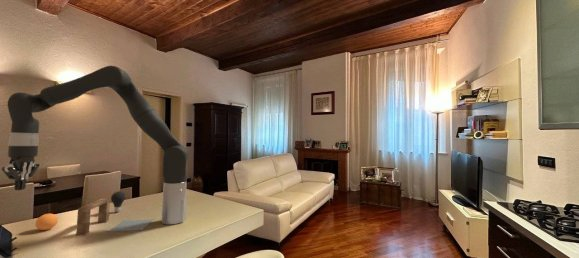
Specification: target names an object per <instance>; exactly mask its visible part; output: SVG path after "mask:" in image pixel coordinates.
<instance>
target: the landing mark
mask: <svg viewBox="0 0 579 258" xmlns="http://www.w3.org/2000/svg"><path fill="white" fill-rule="evenodd" d="M154 220H155V219H153V218H152V219H133V220H132V219H131V220H123V221H121V222H120V223H118V224H116V225H115V226H114V227H112V228H111V229H110V230H108V231H107V232H108V233H112V232H113V233H114V232H115V233H116V232H117V233H118V232H132V231H143V230H145V228H147V226H149V225H150V224H151V223H152V222H153V221H154Z"/></svg>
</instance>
